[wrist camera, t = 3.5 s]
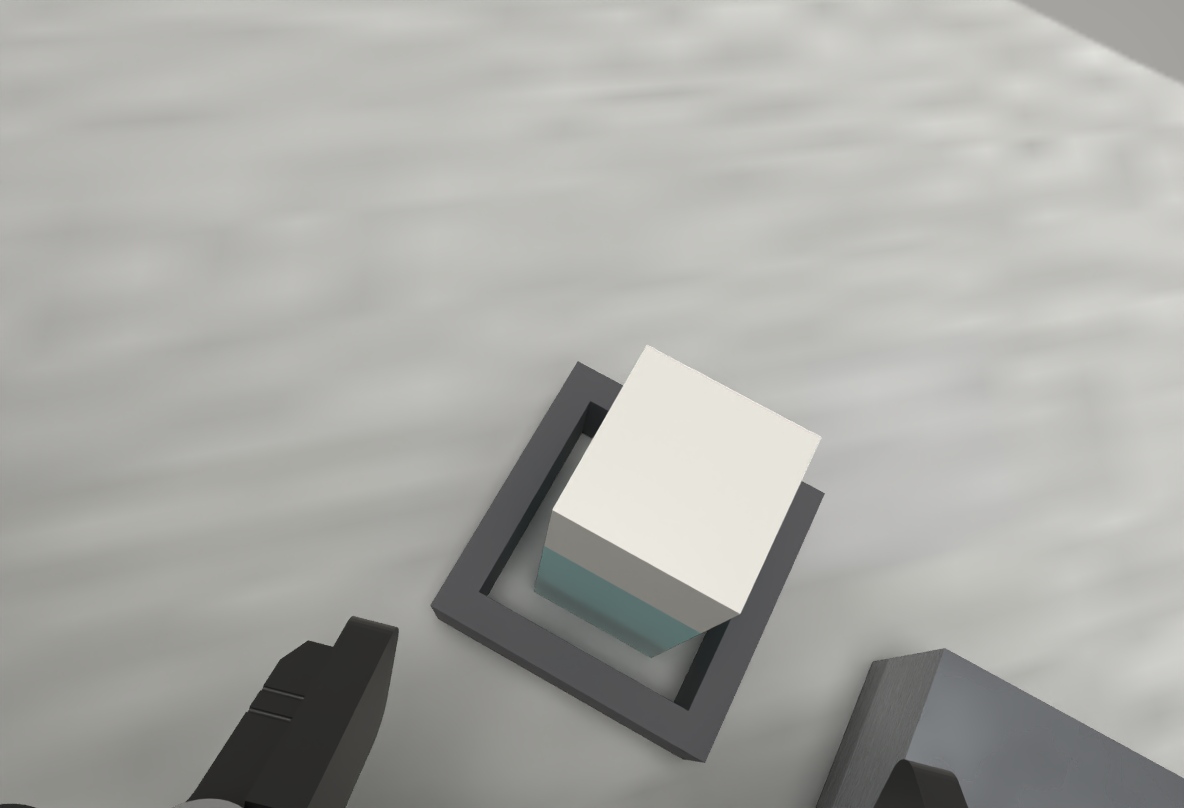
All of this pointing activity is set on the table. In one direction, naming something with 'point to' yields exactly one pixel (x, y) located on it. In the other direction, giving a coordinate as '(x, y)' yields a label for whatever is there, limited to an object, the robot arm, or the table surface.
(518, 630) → the dark grey square frame
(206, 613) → the table surface
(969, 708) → the block
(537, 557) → the table surface
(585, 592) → the plug
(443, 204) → the table surface
